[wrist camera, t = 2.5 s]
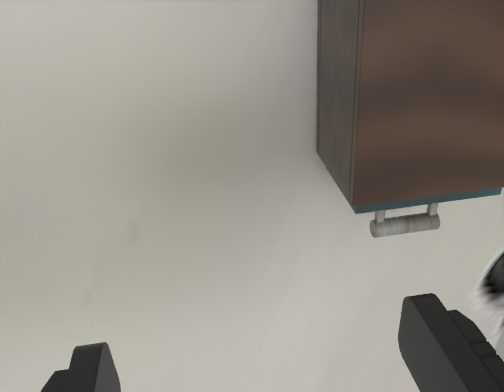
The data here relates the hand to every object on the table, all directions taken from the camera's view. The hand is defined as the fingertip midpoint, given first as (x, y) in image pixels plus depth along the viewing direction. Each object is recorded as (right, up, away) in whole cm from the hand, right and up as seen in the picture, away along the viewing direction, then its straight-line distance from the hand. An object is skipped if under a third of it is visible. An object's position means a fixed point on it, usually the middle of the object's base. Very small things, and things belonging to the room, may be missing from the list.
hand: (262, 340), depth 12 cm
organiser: (+11, +15, +25) cm, 31 cm away
